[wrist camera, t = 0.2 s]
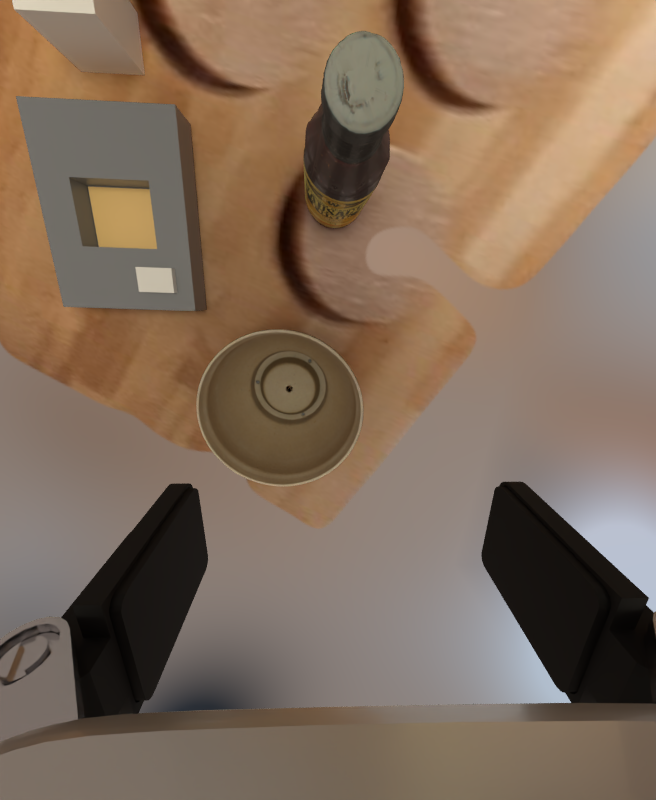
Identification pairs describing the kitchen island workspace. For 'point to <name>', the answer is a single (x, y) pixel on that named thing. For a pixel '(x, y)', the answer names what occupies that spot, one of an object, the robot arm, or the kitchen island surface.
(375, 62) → the sauce bottle
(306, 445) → the planter bowl
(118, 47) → the plug
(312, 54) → the kitchen island surface
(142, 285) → the socket
